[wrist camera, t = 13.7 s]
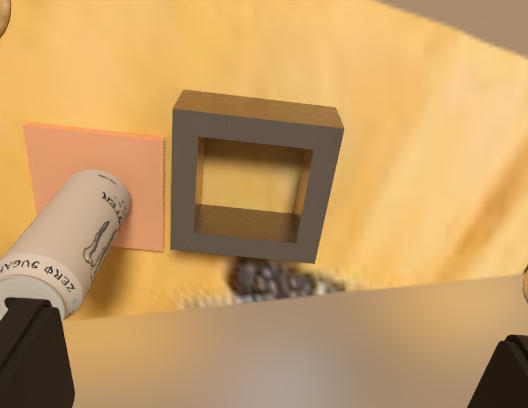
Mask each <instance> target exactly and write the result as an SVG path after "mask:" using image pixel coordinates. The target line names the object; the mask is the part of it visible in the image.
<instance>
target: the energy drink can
mask: <svg viewBox="0 0 528 408" xmlns="http://www.w3.org/2000/svg"><path fill="white" fill-rule="evenodd" d="M130 202H131V201H130V196H129V193H128V191H127V189H126V188H125V186H124V185H123V184H122V182H121V181H120V180H119V179H118V178H117V177H115V176H114V175H112V174H110V173H108V172H105V171H101V170H95V169H86V170H82V171H79V172H77V173H75V174H73V175H72V176H71V177H70V178H69V179H68V180H67V181H66V183H65V184H64V185H63V186H62V187H61V188H60V190H59V191H58V192H57V193H56V194H55V196H54V197H53V198H52V199H51V200H50V202H49V203H48V204H47V205H46V206H45V208H44V209H43V210H42V211H41V212H40V214H39V215H38V216H37V217H36V218H35V220H34V221H33V222H32V223H31V224H30V225H29V227H28V228H27V229H26V230H25V231H24V233H23V234H22V235H21V236H20V237H19V239H18V240H17V241H16V242H15V243H14V245H13V246H12V247H11V248H10V249H9V251H8V252H7V253H6V254H5V255H4V257H3V258H2V259H1V260H0V320H1V319H2V318H3V316H4V315H5V313H6V312H7V311H8V309H9V308H10V307H11V305H12V304H13V303H14V302H15V300H16V299H18V298H20V297H21V298H34V299H47V300H49V301H50V302H51V304H52V307H57V308H58V309H59V311H60V316H61V321H63V320H64V319H66V318H68V317H70V316H71V315H73V314H74V313H75V312H76V311H77V310H79V308H80V306H81V305H82V303H83V301H84V299H85V297H86V295H87V293H88V291H89V289H90V287H91V285H92V283H93V281H94V279H95V277H96V275H97V273H98V271H99V269H100V267H101V265H102V264H103V262H104V260H105V258H106V256H107V254H108V252H109V250H110V248H111V246H112V244H113V242H114V240H115V238H116V236H117V234H118V232H119V230H120V228H121V226H122V224H123V222H124V220H125V218H126V216H127V215H128V213H129V210H130Z"/></svg>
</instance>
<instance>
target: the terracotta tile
mask: <svg viewBox="0 0 528 408" xmlns="http://www.w3.org/2000/svg"><path fill="white" fill-rule="evenodd" d="M23 129H24V135H25V141H26V148H27V154H28V160H29V166H30V173H31V179H32V185H33V191H34V198H35V204H36V210H37V216H38V215H39V214H40V212H41V211H42V210H43V209H44V208H45V206H46V205H47V204H48V203H49V202H50V200H51V199H52V198H53V197H54V196H55V194H56V193H57V192H58V191H59V190H60V188H61V187H62V186H63V185H64V184H65V183H66V181H67V180H68V179H69V178H70V177H71V176H72V175H73V174H75V173H77V172H79V171H82V170H86V169H95V170H101V171H105V172H108V173H110V174H112V175H114V176H115V177H117V178H118V179H119V180H120V181H121V182H122V184H123V185H124V186H125V188H126V189H127V191H128V193H129V196H130V201H131V202H130V210H129V213H128V215H127V216H126V218H125V220H124V222H123V224H122V226H121V228H120V230H119V232H118V234H117V236H116V238H115V240H114V242H113V244H112V246H111V247H121V248H131V249H142V250H152V251H162V252H163V249H164V219H165V138H164V137H155V136H146V135H138V134H129V133H120V132H111V131H102V130H93V129H84V128H75V127H66V126H57V125H48V124H39V123H30V122H27V123H25V124H24V125H23Z"/></svg>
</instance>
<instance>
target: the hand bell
mask: <svg viewBox="0 0 528 408" xmlns="http://www.w3.org/2000/svg"><path fill="white" fill-rule="evenodd" d="M9 16H10V0H0V36H1V35H2V33H3V32H4V30H5V29H6V26H7V24H8V21H9Z"/></svg>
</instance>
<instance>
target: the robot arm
mask: <svg viewBox="0 0 528 408" xmlns="http://www.w3.org/2000/svg"><path fill="white" fill-rule="evenodd" d="M523 293H524V297H525V299H526V301H527V303H528V270H527V271H526V274H525V277H524V281H523ZM74 397H75V390H74V384H73V379H72V374H71V368H70V363H69V358H68V353H67V347H66V342H65V337H64V332H63V326H62V321H61V316H60V311H59V309H58V308H57V307H52V304H51V302H50V301H49V300H47V299H34V298H21V297H20V298H18V299H16V300H15V302H14V303H13V304H12V305H11V307H10V308H9V309H8V311H7V312H6V313H5V315H4V316H3V318H2V319H1V320H0V408H72V406H73V402H74ZM467 408H528V336H524V335H509V336H507V337H506V339H505V341H500V342H499V343H498V345H497V347H496V349H495V351H494V353H493V355H492V357H491V359H490V361H489V363H488V366H487V367H486V370H485V372H484V374H483V376H482V378H481V380H480V382H479V384H478V386H477V388H476V390H475V392H474V395H473V396H472V399H471V401H470V403H469V405H468V407H467Z"/></svg>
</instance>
